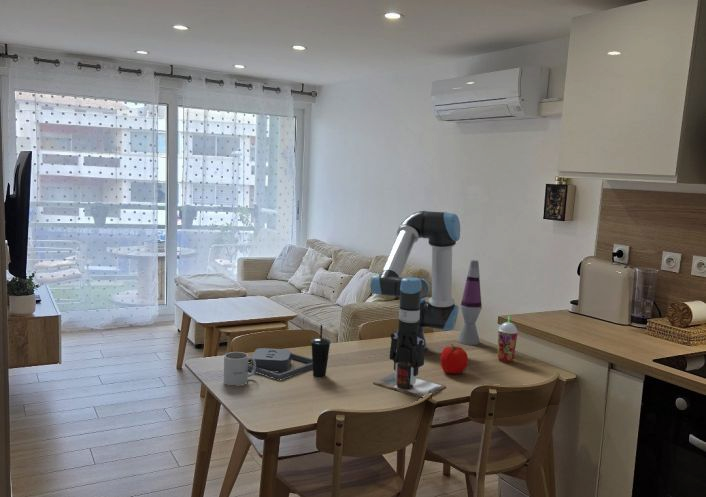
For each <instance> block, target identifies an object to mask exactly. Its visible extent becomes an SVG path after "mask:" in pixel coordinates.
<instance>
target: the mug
mask: <svg viewBox="0 0 706 497" xmlns="http://www.w3.org/2000/svg"><path fill="white" fill-rule="evenodd" d="M248 360H252V361H253V370H252V371H250V373H249V370H248V364H249V363H248ZM223 362H224V363H223V384H224V383H225V384H224V385H226V384H228V385H227V386H229V385H241V386H243V385H242V384H245V383H246V382H247V381H248V378H249V377H252V376H254V375H255V374H256V373H255V370H256V362H255V359H254V358H252V357H251V356H249V354H248V353H246V352H242V351H231V352H226V353H225V354H224V355H223ZM247 383H248V382H247ZM247 383H246V384H247ZM246 384H245V385H246Z"/></svg>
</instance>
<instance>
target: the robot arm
mask: <svg viewBox="0 0 706 497" xmlns="http://www.w3.org/2000/svg"><path fill="white" fill-rule="evenodd" d="M419 239H427V240H428V245H429V246H430V247H431V249H432V250H431V286H430V284H429V282H428V280H426V279H425V278H422V277H421V278H420V277H419V278H418V277H412V276H411V277H410V276H409V277H407V276H406V277H401V276H402V273H403V271H404V268H405V266H406V263H407V262H408V259H409V256H410V254H411V252H412V249H413V247H414V244H415V243H417V242H418V241H419ZM460 239H461V222H460V218H459V215H457V214H456V213H452V212H447V211H428V210H421V211H416V212H413V213H412V214H410V215H408V216H407V217H406V218H405V219H404V220H403V221H402V222H401V223H400V225H399V227H398V228H397V231H396V239H395V241H394V244H393V246H392V248H391V250H390V252H389V255H388V257H387V259H386V261H385V264H384V266H383V268H382V270H381V272H380V274H374V275H372V277H371V279H370V285H369V286H370V288H369V289H370V291H371V293H372V294H373V295H378V296H385V297H395V298H399V307H398V321H397V322H398V323H397V331H396V332H393V333H390V338H391V341H390V350H389V360H390V361H391V360H392V362H393V370H394V373H395V380H397V373H398V357H399V346H400V347H402V346H404V345H407V346H409V349H412V356H411V358H412V363H413V367H411V378H410V384H411V385H413V384H415V383H416V378H417V376H418V375H419V368H420V367H423V366H424V364H425V350H426V349H427V342H426V338H425V334H424V328H428V329H433V330H442V331H449V332H450V331H452V330H453V329H454V328H455V325H456V322H457V319H458V315H459V305H457V304H456V303H455V299H454V298H453V297H452V282H453V281H452V277H453V274H452V273H453V269H452V268H453V247H455V245H457V242H459V240H460ZM430 289H431V290H430ZM430 292H431V297H430V298H428V301H426V300H427V299H426V297H427V296H428V295H429V293H430Z"/></svg>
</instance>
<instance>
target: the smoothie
mask: <svg viewBox="0 0 706 497" xmlns="http://www.w3.org/2000/svg"><path fill="white" fill-rule="evenodd" d="M510 318H511V317H510V315H508V317H507V321H506V322H503V323H501V325H500V326H499V328H497V358H498V361H499V362H501V363H506V364H507V363H512V362H513V360H514V359H515V354H516V353H515V352H516V346H517V339H518V333H519V331H518V329H517V327H516V325H515V324H514V323H512V322H510Z"/></svg>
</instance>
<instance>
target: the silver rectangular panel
mask: <svg viewBox="0 0 706 497" xmlns="http://www.w3.org/2000/svg"><path fill="white" fill-rule="evenodd" d="M373 385H376V386H379V387H383V388H387V389H389V390H393V391H397V392H400V393H403V394H405V395H410V396H413V397H417V398H419V397H422V396H424V395H426V394H429V393H432V394H433V393H435V392H436V393H438V392H440V391H442V390H443V389H445V388H446V387H447V386H446V385H445V384H441V383H438V382H435V381H430V380H427V379H423V378H419V377H416V383H415V384H413V388H411V389H401V388H398V387H397V380H395V372H393V373H391V374H388V375H387V376H384V377H382V378H380V379H378V380H375V381H373ZM441 389H442V390H441ZM439 390H440V391H439ZM437 391H438V392H437ZM436 393H435V394H436ZM433 395H434V394H433Z"/></svg>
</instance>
